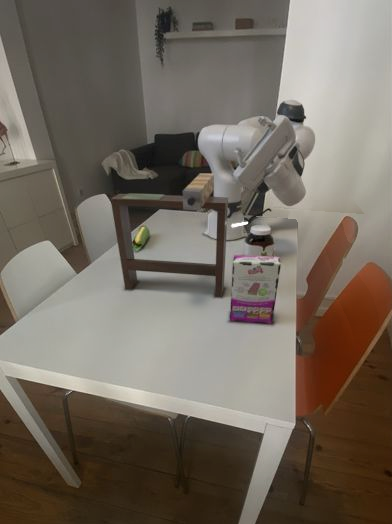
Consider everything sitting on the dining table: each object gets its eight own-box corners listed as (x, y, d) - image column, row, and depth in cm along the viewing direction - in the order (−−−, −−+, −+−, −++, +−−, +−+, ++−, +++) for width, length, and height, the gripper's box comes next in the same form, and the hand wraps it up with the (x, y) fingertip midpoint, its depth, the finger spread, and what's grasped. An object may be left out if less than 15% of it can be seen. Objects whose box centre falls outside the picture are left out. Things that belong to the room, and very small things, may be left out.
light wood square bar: (199, 189, 90) (199, 173, 88) (213, 189, 90) (214, 173, 87) (182, 210, 72) (181, 191, 70) (199, 211, 72) (199, 192, 69)
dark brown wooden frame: (131, 280, 103) (118, 192, 87) (223, 287, 98) (228, 196, 82) (125, 289, 98) (110, 198, 82) (221, 297, 94) (225, 202, 78)
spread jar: (244, 265, 112) (247, 231, 104) (240, 253, 121) (242, 221, 113) (278, 264, 112) (284, 231, 105) (271, 252, 121) (276, 221, 114)
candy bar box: (271, 314, 86) (280, 255, 76) (272, 324, 82) (282, 264, 72) (229, 311, 87) (233, 253, 77) (228, 321, 83) (232, 261, 73)
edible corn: (151, 235, 138) (150, 224, 135) (143, 252, 122) (141, 240, 120) (139, 234, 138) (138, 224, 136) (130, 252, 123) (128, 240, 120)
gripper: (244, 192, 103) (218, 164, 93) (292, 135, 96) (268, 97, 86) (254, 200, 99) (228, 171, 89) (304, 140, 92) (281, 101, 82)
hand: (248, 134), depth 88 cm, fingers open, 8 cm apart
